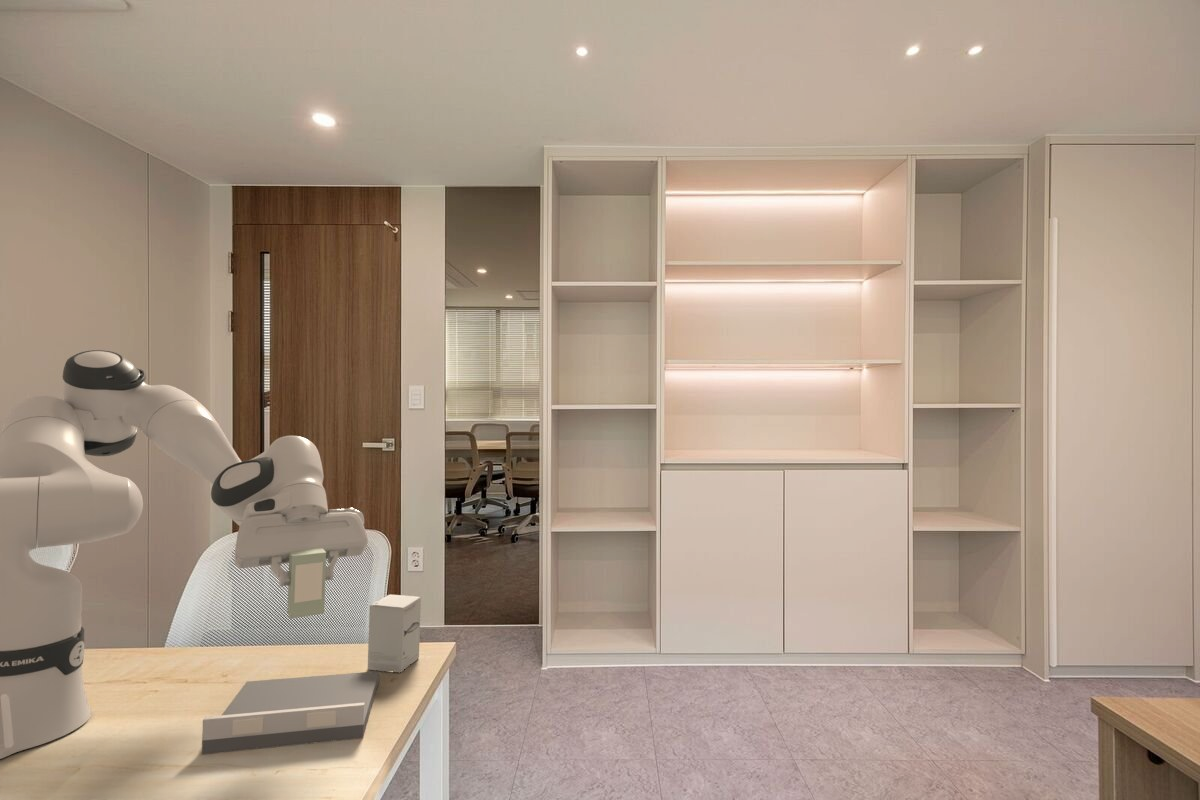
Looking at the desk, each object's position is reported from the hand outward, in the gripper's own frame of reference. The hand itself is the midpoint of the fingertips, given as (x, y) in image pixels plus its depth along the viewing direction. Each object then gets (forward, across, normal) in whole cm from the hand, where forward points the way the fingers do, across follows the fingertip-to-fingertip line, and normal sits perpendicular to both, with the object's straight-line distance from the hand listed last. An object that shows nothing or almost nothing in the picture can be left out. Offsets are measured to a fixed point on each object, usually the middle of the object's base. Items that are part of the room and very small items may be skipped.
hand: (307, 581), depth 97 cm
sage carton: (+3, 0, -4) cm, 5 cm away
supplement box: (+7, -18, -25) cm, 32 cm away
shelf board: (+15, 0, -17) cm, 22 cm away
